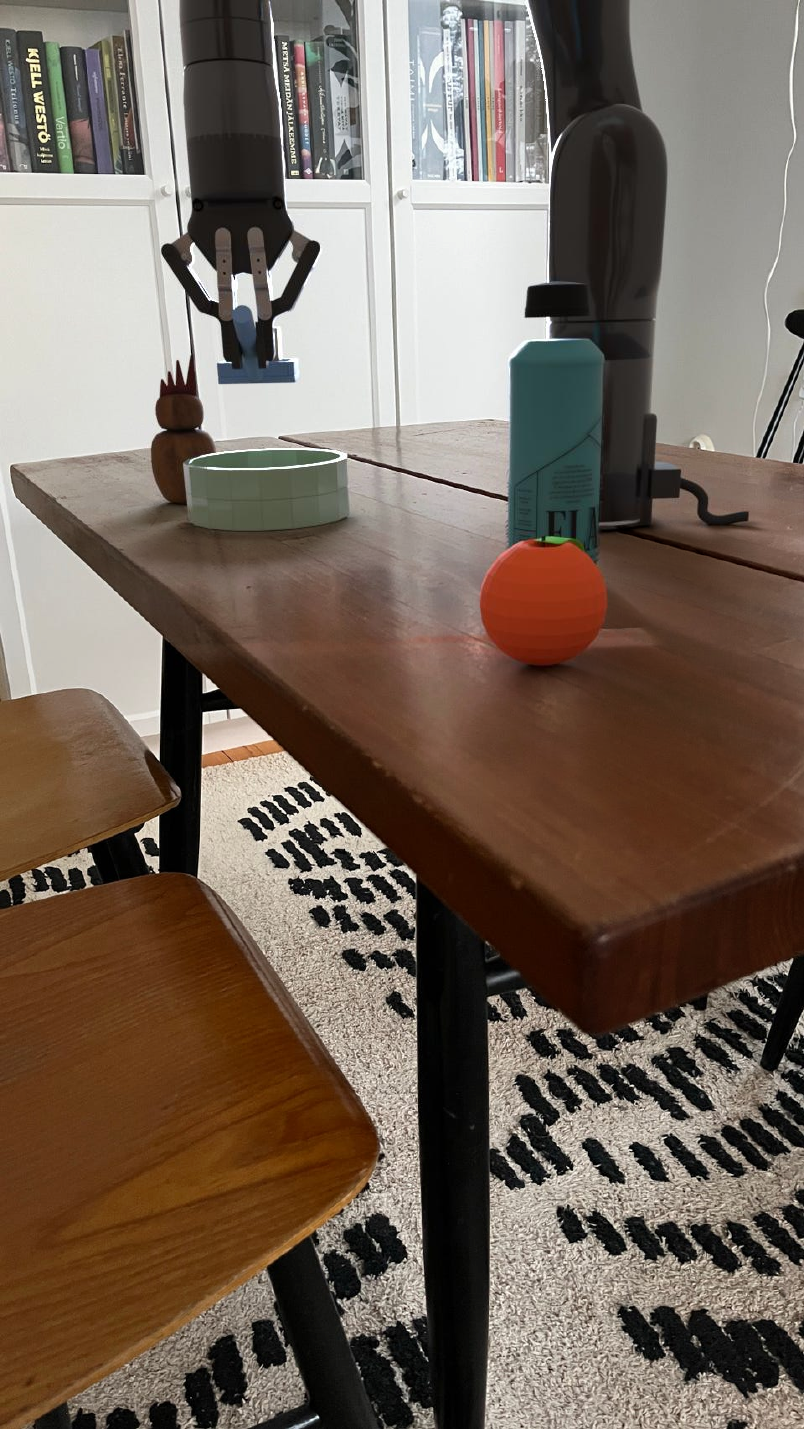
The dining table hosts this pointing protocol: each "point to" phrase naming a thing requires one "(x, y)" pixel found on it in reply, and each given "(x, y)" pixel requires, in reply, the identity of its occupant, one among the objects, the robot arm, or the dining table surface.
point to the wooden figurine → (178, 433)
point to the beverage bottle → (555, 427)
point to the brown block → (276, 345)
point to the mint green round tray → (267, 489)
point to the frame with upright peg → (254, 357)
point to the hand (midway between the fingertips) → (250, 367)
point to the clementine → (543, 601)
